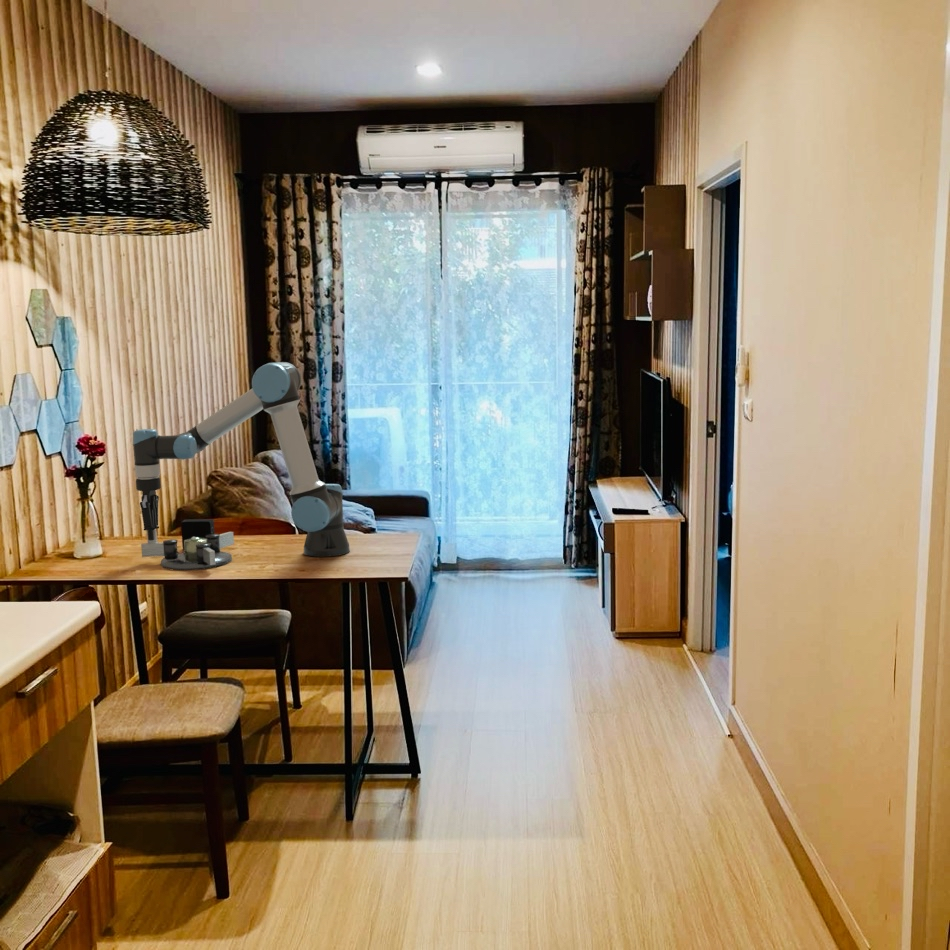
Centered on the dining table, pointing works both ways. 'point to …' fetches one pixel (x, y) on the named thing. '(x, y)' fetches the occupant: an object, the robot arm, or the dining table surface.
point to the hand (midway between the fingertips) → (152, 549)
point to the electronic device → (196, 528)
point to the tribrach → (194, 557)
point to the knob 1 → (160, 549)
